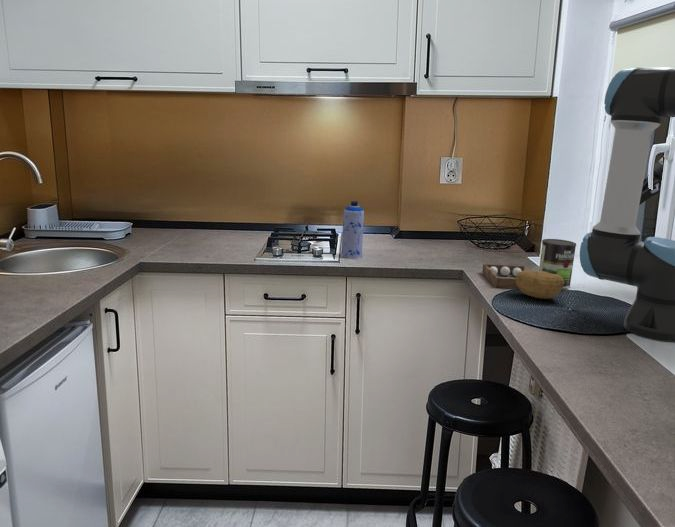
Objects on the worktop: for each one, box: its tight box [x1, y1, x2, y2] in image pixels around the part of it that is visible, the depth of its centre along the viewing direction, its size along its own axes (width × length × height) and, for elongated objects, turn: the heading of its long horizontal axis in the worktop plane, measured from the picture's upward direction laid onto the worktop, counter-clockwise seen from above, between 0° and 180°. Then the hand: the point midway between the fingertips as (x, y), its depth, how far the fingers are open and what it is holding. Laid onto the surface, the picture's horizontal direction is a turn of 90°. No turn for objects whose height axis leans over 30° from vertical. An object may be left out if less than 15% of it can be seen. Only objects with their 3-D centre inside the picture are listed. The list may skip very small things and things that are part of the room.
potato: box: [514, 269, 564, 300], centre depth 185 cm, size 10×14×8 cm
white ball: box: [512, 268, 521, 277], centre depth 210 cm, size 3×3×3 cm
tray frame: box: [482, 263, 525, 290], centre depth 204 cm, size 19×14×3 cm
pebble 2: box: [500, 266, 511, 277], centre depth 210 cm, size 3×3×3 cm
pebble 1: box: [490, 266, 498, 275], centre depth 210 cm, size 3×3×3 cm
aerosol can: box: [340, 200, 365, 260], centre depth 225 cm, size 8×8×20 cm
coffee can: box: [538, 238, 577, 290], centre depth 200 cm, size 10×10×14 cm
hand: (605, 221), depth 197 cm, fingers closed
